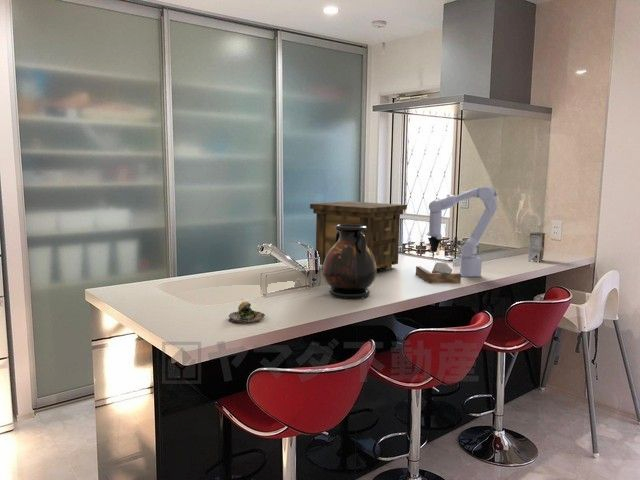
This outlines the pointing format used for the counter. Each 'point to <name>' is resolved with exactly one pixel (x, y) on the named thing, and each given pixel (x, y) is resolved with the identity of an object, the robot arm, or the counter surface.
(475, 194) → the robot arm
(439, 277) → the arena
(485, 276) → the counter surface
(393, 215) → the crate
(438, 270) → the grey rock
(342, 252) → the amphora vase
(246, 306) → the mossy rock
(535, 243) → the coffee box
